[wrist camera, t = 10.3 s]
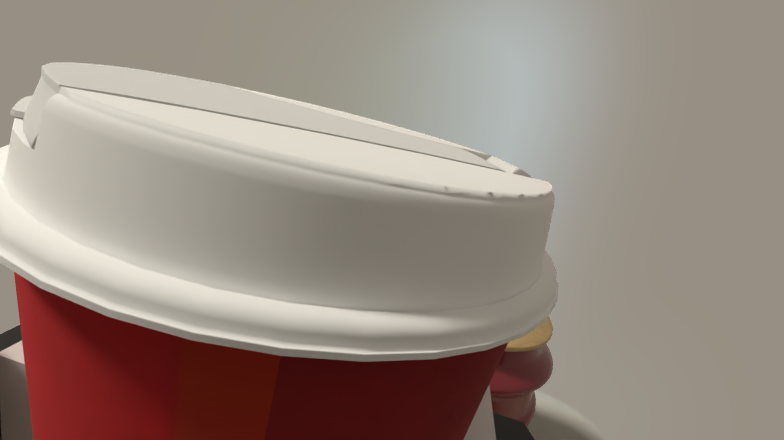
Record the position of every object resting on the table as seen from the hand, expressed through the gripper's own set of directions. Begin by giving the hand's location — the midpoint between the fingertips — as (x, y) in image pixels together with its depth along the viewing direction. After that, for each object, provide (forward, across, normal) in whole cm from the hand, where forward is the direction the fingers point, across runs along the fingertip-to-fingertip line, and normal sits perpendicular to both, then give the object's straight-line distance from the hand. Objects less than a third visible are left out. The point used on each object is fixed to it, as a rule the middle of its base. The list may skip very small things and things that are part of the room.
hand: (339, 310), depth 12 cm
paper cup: (-5, 0, -8) cm, 10 cm away
